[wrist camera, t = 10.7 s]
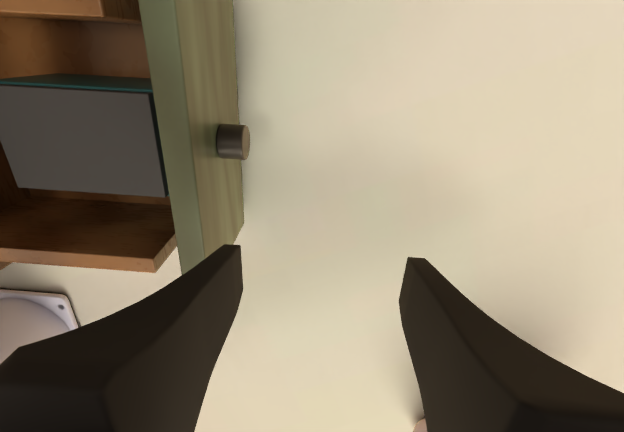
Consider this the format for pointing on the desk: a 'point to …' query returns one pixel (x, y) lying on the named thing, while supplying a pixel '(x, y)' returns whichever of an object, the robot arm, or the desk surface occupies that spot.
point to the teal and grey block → (82, 134)
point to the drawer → (171, 122)
